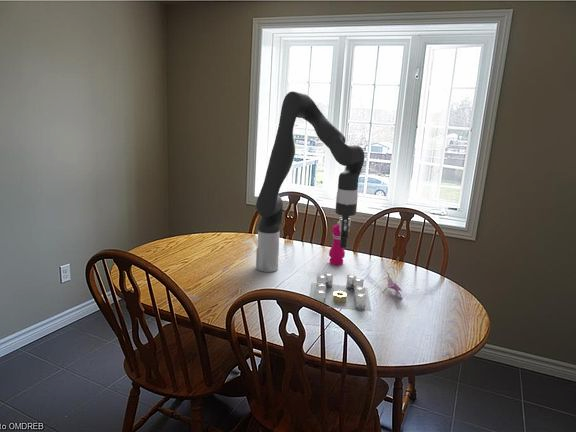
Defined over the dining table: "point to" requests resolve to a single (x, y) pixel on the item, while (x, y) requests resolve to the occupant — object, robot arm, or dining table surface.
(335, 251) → the pepper mill
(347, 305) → the board
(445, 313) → the dining table surface
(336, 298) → the nut
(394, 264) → the dining table surface
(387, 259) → the dining table surface
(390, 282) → the lily
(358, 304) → the spacers
